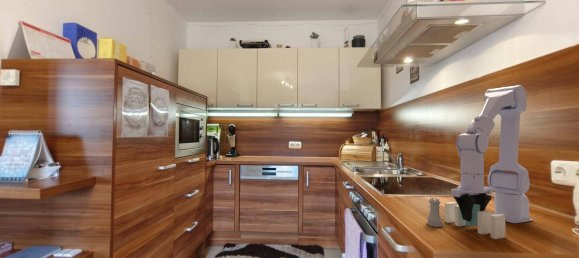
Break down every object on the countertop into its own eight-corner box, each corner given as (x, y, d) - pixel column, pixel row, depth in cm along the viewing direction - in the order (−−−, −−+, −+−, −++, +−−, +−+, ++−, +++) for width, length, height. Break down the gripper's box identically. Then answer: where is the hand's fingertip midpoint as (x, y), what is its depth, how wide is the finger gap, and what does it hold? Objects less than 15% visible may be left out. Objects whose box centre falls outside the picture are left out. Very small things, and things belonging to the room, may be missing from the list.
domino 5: (500, 235, 73) (500, 213, 73) (505, 237, 71) (505, 215, 72) (490, 237, 71) (490, 215, 71) (495, 239, 70) (495, 216, 70)
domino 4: (487, 231, 76) (487, 210, 76) (491, 232, 75) (491, 211, 75) (477, 233, 75) (477, 211, 75) (481, 234, 73) (481, 212, 74)
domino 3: (476, 224, 79) (476, 203, 79) (480, 225, 78) (480, 204, 78) (465, 225, 78) (465, 204, 78) (469, 226, 77) (469, 205, 77)
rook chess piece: (445, 228, 78) (445, 201, 79) (429, 226, 79) (429, 200, 79) (440, 223, 83) (439, 197, 83) (424, 222, 84) (424, 196, 84)
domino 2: (464, 223, 82) (463, 204, 83) (467, 225, 81) (467, 205, 82) (454, 225, 81) (454, 205, 81) (458, 226, 80) (458, 206, 80)
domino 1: (453, 220, 86) (453, 201, 86) (457, 221, 85) (457, 202, 85) (444, 221, 84) (444, 202, 85) (448, 222, 83) (448, 203, 83)
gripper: (475, 170, 85) (476, 213, 84) (441, 172, 80) (442, 217, 79) (499, 173, 78) (500, 220, 78) (464, 175, 73) (464, 225, 73)
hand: (472, 219), depth 78 cm, fingers closed on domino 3, 4 cm apart
